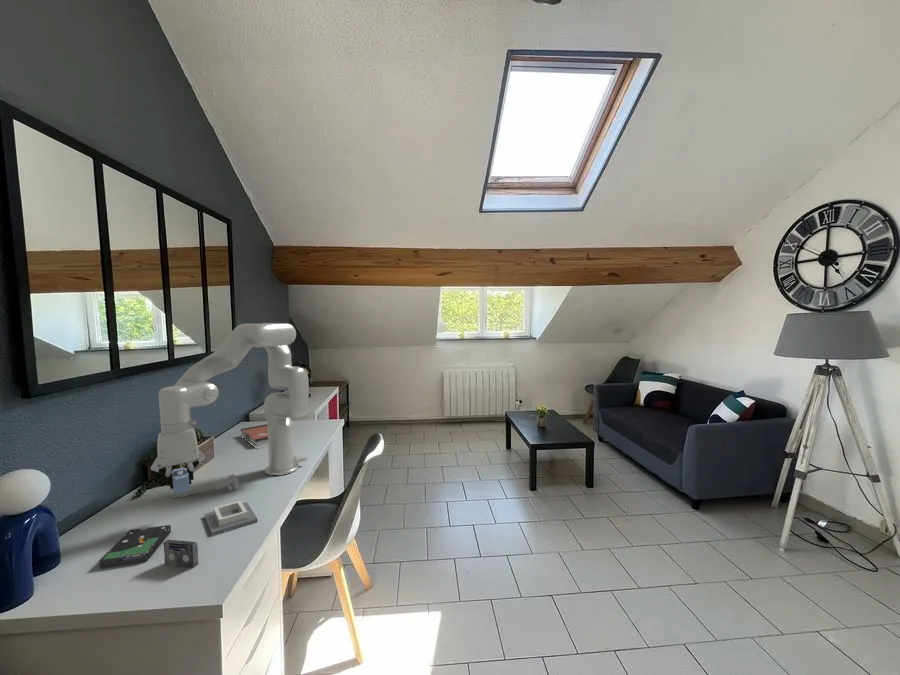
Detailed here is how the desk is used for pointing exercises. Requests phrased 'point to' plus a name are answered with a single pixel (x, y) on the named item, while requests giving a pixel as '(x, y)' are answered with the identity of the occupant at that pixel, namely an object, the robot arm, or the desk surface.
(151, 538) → the disk drive
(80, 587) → the desk surface
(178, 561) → the mini dv tape
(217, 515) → the plate
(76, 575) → the desk surface
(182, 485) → the servo block
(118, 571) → the desk surface
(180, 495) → the caliper
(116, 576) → the desk surface
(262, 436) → the book
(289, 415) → the robot arm
